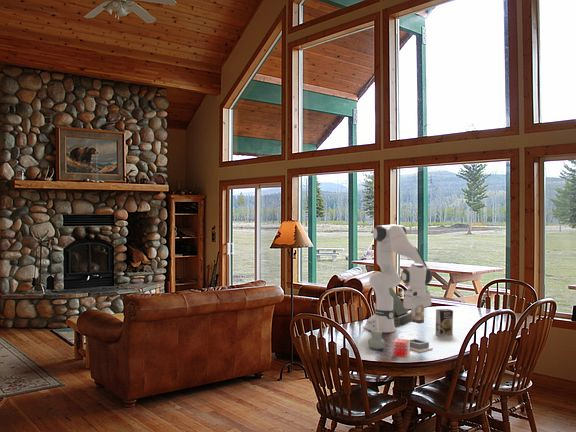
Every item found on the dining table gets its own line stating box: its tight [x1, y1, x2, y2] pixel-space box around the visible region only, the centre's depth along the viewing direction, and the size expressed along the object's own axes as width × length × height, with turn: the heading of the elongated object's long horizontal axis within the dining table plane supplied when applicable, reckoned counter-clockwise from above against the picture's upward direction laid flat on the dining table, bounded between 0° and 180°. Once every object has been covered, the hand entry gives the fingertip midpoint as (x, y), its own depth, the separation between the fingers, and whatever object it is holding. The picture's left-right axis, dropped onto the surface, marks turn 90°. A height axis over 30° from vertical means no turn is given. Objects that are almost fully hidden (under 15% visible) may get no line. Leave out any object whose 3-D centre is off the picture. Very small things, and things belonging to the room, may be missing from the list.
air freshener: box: [367, 330, 386, 351], centre depth 315 cm, size 11×8×10 cm
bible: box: [389, 288, 411, 327], centre depth 391 cm, size 23×20×25 cm
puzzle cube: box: [392, 338, 411, 358], centre depth 302 cm, size 8×8×8 cm
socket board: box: [409, 338, 434, 353], centre depth 317 cm, size 14×11×4 cm
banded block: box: [410, 305, 425, 325], centre depth 317 cm, size 4×6×10 cm, turn 35°
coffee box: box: [435, 308, 454, 337], centre depth 353 cm, size 9×6×16 cm
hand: (417, 315), depth 317 cm, fingers closed on banded block, 4 cm apart
